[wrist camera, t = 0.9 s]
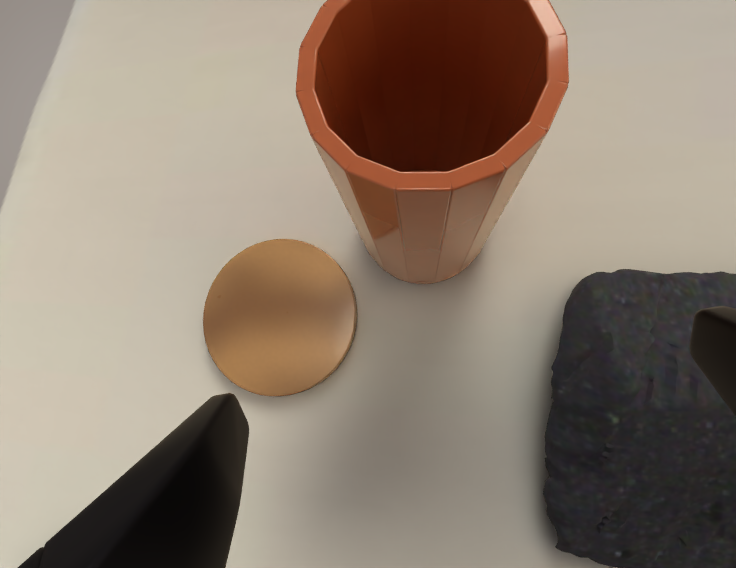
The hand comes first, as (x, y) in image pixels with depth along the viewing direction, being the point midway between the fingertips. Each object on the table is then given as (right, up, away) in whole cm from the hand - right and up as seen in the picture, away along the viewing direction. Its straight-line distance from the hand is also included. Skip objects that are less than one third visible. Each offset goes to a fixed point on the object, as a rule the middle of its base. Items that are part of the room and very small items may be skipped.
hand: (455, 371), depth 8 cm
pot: (+1, +5, +14) cm, 15 cm away
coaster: (-6, 0, +14) cm, 16 cm away
